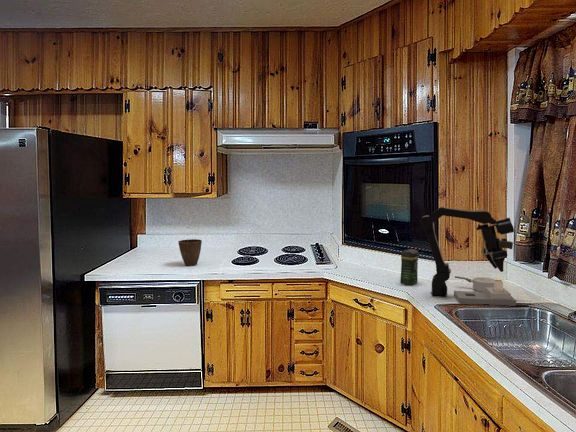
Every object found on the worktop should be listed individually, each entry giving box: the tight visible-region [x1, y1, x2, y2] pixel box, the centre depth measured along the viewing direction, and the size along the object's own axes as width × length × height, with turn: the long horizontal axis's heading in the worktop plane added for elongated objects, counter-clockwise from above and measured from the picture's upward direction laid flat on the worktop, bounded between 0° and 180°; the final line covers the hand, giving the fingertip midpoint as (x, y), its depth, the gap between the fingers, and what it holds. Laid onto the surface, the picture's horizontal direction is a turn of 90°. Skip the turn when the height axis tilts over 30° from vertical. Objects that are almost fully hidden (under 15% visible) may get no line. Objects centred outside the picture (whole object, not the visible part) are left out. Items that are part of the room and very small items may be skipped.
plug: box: [494, 279, 504, 292], centre depth 194 cm, size 3×3×8 cm
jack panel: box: [453, 288, 517, 307], centre depth 195 cm, size 24×12×5 cm, turn 79°
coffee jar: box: [399, 248, 419, 286], centre depth 226 cm, size 10×8×19 cm
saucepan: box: [454, 275, 496, 292], centre depth 215 cm, size 12×20×6 cm, turn 58°
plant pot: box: [177, 238, 203, 267], centre depth 276 cm, size 15×15×16 cm
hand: (498, 270), depth 194 cm, fingers open, 9 cm apart
